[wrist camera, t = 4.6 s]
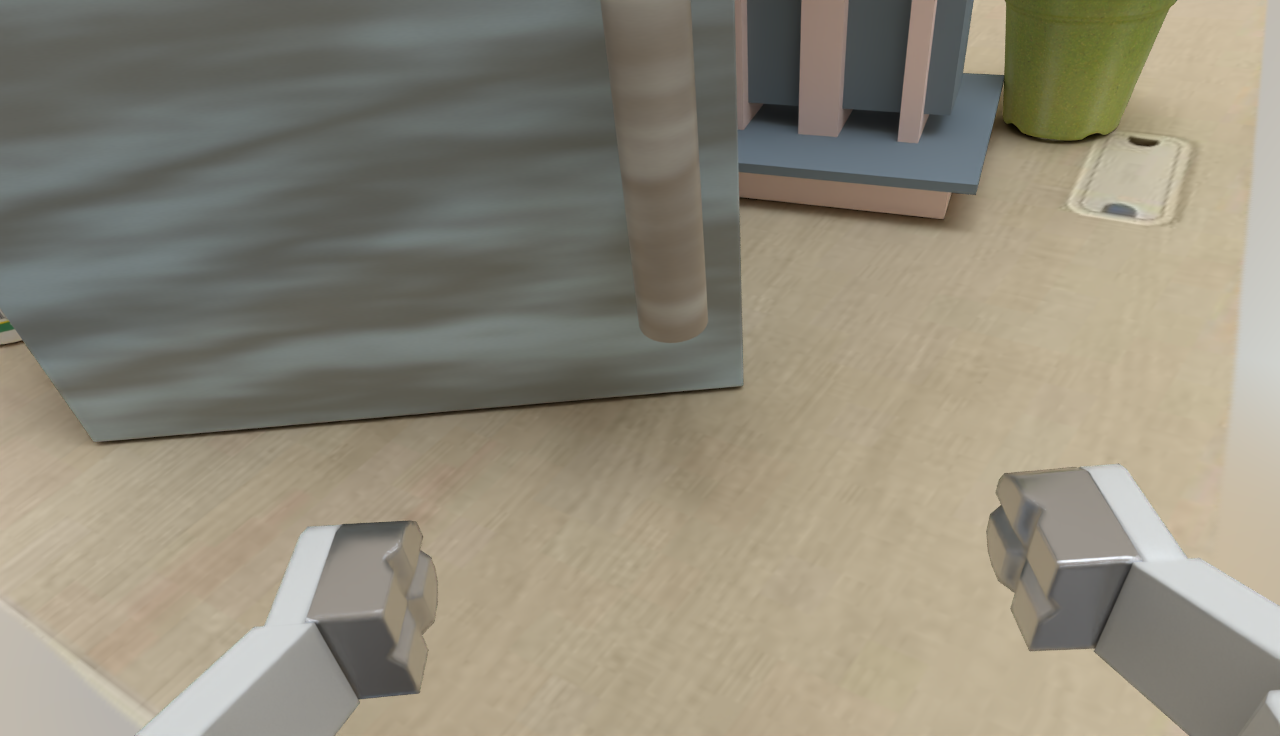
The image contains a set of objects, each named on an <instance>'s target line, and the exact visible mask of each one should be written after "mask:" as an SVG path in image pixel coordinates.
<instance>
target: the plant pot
mask: <svg viewBox="0 0 1280 736" xmlns="http://www.w3.org/2000/svg"><path fill="white" fill-rule="evenodd" d="M1005 1H1006V39H1005V71H1004V95H1003V119H1004V121H1005V123H1007V124H1010V123H1013V124H1014V125H1016V126H1017V127H1018V129H1019V130H1020V131H1021V132H1022V133H1024V134H1027V135H1030V136H1034V137H1038V138H1047V139H1056V140H1065V141H1070V140H1081V139H1083V138H1085V137H1087V136H1088V135H1091V134H1094V133H1100V134H1102V135H1106V134H1108V133H1110V132H1112V131H1113V130H1115V128H1116V127H1117V126H1118V125H1119V122H1120V120H1121V117H1122V115H1123V113H1124V110H1125V108H1126V106H1127V104H1128V101H1129V99H1130V97H1131V94H1132V92H1133V89H1134V87H1135V85H1136V82H1137V80H1138V78H1139V76H1140V73H1141V71H1142V69H1143V67H1144V64H1145V62H1146V60H1147V58H1148V55H1149V53H1150V51H1151V49H1152V46H1153V44H1154V42H1155V39H1156V37H1157V35H1158V33H1159V30H1160V28H1161V26H1162V24H1163V21H1164V19H1165V17H1166V15H1167V13H1168V10H1169V8H1170V7H1171V6H1172V5H1174V4H1175V2H1176V1H1177V0H1005Z"/></svg>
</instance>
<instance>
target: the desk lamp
mask: <svg viewBox="0 0 1280 736" xmlns="http://www.w3.org/2000/svg"><path fill="white" fill-rule="evenodd" d="M973 1H974V0H735V42H736V84H737V127H738V170H739V197H744V198H753V199H762V200H771V201H781V202H790V203H799V204H808V205H818V206H827V207H836V208H845V209H855V210H864V211H873V212H882V213H891V214H901V215H910V216H919V217H928V218H938V219H944V217H945V213H946V210H947V207H948V203H949V200H950V196H951V193H961V194H971V195H976V192H977V188H978V184H979V180H980V176H981V172H982V168H983V164H984V160H985V156H986V152H987V148H988V143H989V139H990V135H991V131H992V127H993V123H994V119H995V115H996V111H997V107H998V103H999V99H1000V95H1001V91H1002V87H1003V82H1004V75H990V74H969V73H963V69H964V62H965V55H966V48H967V42H968V35H969V28H970V21H971V15H972V8H973Z"/></svg>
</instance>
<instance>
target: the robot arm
mask: <svg viewBox="0 0 1280 736" xmlns="http://www.w3.org/2000/svg"><path fill="white" fill-rule="evenodd" d="M996 495H997V497H998V499H999V501H1000V503H1001V506H999V507H998V508H997V509H996V510H995V511H994V512H992V513H991V514H990V517H989V521H988V526H987V531H986V532H987V547H988V553H989V557H990V561H991V564H992V567H993V569H994V572H995V574H996V577H997V579H998V581H999V582H1000V583H1002V584H1003V585H1004V586H1006V587H1007V588H1009V589H1010V590H1011V591H1013V592H1014V593H1015V595H1014V598H1013V601H1012V605H1011V608H1010V609H1011V611H1012V613H1013V616H1014V618H1015V620H1016V622H1017V625H1018V627H1019V629H1020V631H1021V634H1022V636H1023V638H1024V640H1025V643H1026V645H1027V647H1028V649H1029V651H1046V650H1069V649H1092V648H1095V650H1094V652H1095V653H1096V654H1097V655H1098V656H1100V657H1101V658H1102V659H1103V660H1104V661H1105V662H1106V663H1107V664H1109V665H1110V666H1111V667H1112V668H1113V669H1114V670H1115V671H1117V672H1118V673H1119V674H1120V675H1121V676H1122V677H1123V678H1124V679H1126V680H1127V681H1128V682H1129V683H1130V684H1131V685H1132V686H1134V687H1135V688H1136V689H1137V690H1138V691H1139V692H1140V693H1141V694H1143V695H1144V696H1145V697H1146V698H1147V699H1148V700H1149V701H1151V702H1152V703H1153V704H1154V705H1155V706H1156V707H1157V708H1158V709H1160V710H1161V711H1162V712H1163V713H1164V714H1165V715H1166V716H1168V717H1169V718H1170V719H1171V720H1172V721H1173V722H1174V723H1175V724H1177V725H1178V726H1179V727H1180V728H1181V729H1182V730H1183V731H1185V732H1186V733H1187V734H1188V735H1189V736H1280V606H1279V605H1277V604H1275V603H1274V602H1272V601H1270V600H1268V599H1267V598H1265V597H1264V596H1262V595H1260V594H1259V593H1257V592H1255V591H1254V590H1252V589H1250V588H1249V587H1247V586H1245V585H1244V584H1242V583H1240V582H1238V581H1237V580H1235V579H1234V578H1232V577H1230V576H1229V575H1227V574H1225V573H1224V572H1222V571H1220V570H1219V569H1217V568H1215V567H1214V566H1212V565H1210V564H1209V563H1207V562H1205V561H1204V560H1202V559H1201V558H1187V557H1186V555H1185V554H1184V552H1183V551H1182V549H1181V548H1180V546H1179V545H1178V543H1177V542H1176V540H1175V539H1174V538H1173V536H1172V535H1171V533H1170V532H1169V530H1168V529H1167V527H1166V526H1165V524H1164V523H1163V522H1162V520H1161V519H1160V517H1159V516H1158V514H1157V513H1156V511H1155V510H1154V508H1153V507H1152V505H1151V504H1150V503H1149V501H1148V500H1147V498H1146V497H1145V495H1144V494H1143V492H1142V491H1141V489H1140V488H1139V486H1138V485H1137V484H1136V482H1135V481H1134V479H1133V478H1132V476H1131V475H1130V473H1129V472H1128V470H1127V469H1126V468H1124V467H1123V466H1121V465H1120V464H1109V465H1097V466H1085V467H1079V468H1077V467H1069V468H1058V469H1046V470H1035V471H1024V472H1013V473H1004V475H1003V476H1002V477H1001V478H1000V479H999V482H998V485H997V489H996ZM422 540H423V535H422V533H421V531H420V529H419V526H418V524H417V522H416V521H395V522H376V523H357V524H342V525H328V526H311V527H307V528H306V529H305V531H304V532H303V533H302V534H301V535H300V536H299V538H298V541H297V543H296V546H295V549H294V551H293V554H292V556H291V559H290V561H289V564H288V566H287V569H286V571H285V574H284V577H283V579H282V582H281V584H280V587H279V589H278V592H277V594H276V597H275V600H274V602H273V605H272V607H271V610H270V612H269V615H268V617H267V620H266V622H265V625H264V626H260V627H253V628H252V629H251V630H250V631H249V632H248V633H247V634H245V635H244V636H243V637H242V638H241V639H240V640H239V641H238V642H237V643H236V644H234V645H233V646H232V647H231V648H230V649H229V650H228V651H227V652H226V653H225V654H223V655H222V656H221V657H220V658H219V659H218V660H217V661H216V662H215V663H214V664H212V665H211V666H210V667H209V668H208V669H207V670H206V671H205V672H204V673H203V674H201V675H200V676H199V677H198V678H197V679H196V680H195V681H194V682H193V683H192V684H190V685H189V686H188V687H187V688H186V689H185V690H184V691H183V692H182V693H180V694H179V695H178V696H177V697H176V698H175V699H174V700H173V701H172V702H171V703H169V704H168V705H167V706H166V707H165V708H164V709H163V710H162V711H161V712H160V713H158V714H157V715H156V716H155V717H154V718H153V719H152V720H151V721H150V722H149V723H147V724H146V725H145V726H144V727H143V728H142V729H141V730H140V731H139V732H138V733H137V734H135V735H134V736H335V734H336V733H337V732H338V731H339V729H340V728H341V727H342V725H343V724H344V723H345V722H346V720H347V719H348V718H349V716H350V715H351V714H352V712H353V711H354V710H355V709H356V707H357V706H358V705H359V703H360V701H359V699H366V698H377V697H387V696H397V695H408V694H418V693H420V689H421V684H422V679H423V675H424V670H425V665H426V660H427V655H428V651H429V650H428V648H427V645H426V643H425V641H424V638H423V636H422V635H423V634H424V633H425V632H426V630H427V629H428V628H429V627H430V626H431V625H432V624H433V623H434V621H435V616H436V610H437V605H438V581H437V575H436V569H435V566H434V564H433V561H432V558H431V557H430V556H429V555H427V554H425V553H424V552H422V551H421V550H420V548H421V544H422Z"/></svg>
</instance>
